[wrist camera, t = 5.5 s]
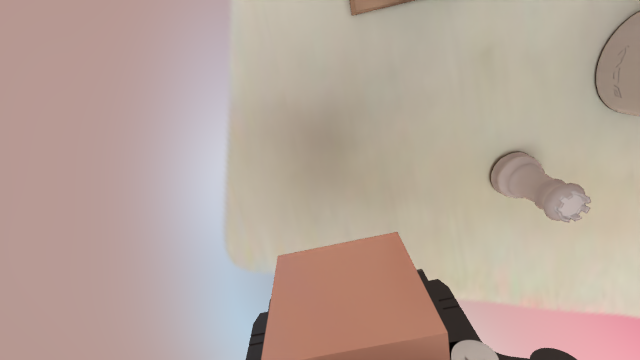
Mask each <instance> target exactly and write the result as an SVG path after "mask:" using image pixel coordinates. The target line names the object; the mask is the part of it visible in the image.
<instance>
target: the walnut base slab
mask: <svg viewBox="0 0 640 360" xmlns="http://www.w3.org/2000/svg"><path fill="white" fill-rule="evenodd" d="M410 1H415V0H350V6H351V12H352V15H356V14H360V13H364V12H369V11H373V10H377V9H381V8H385V7H390V6H394V5H398V4H402V3H406V2H410Z"/></svg>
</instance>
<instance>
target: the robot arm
mask: <svg viewBox="0 0 640 360" xmlns="http://www.w3.org/2000/svg"><path fill="white" fill-rule="evenodd" d="M596 85H597V89H598V93H599V95H600V97H601V99H602V101H603V102H604V103H605V104H606V105H607V106H608V107H609V108H611V109H613V110H615V111H616V112H620V113H625V114H630V115H636V116H640V11H639V12H638V13H636V14H635V15H633V16H632V17H630V18H629V19H628V20H627V21H626V22H624V23H623V24H622V25H621V26H620V27H619V28H618V29H617V31H616V32H615V33H614V34H613V35H612V37H611V38H610V39H609V41H608V43H607V44H606V46H605V48H604V50H603V52H602V55H601V57H600V60H599V63H598V67H597V72H596ZM417 272H418V274H419V276H420V278H421V280H422V282H423V284H424V286H425V288H426V290H427V292H428V294H429V296H430V298H431V300H432V302H433V304H434V306H435V308H436V310H437V312H438V314H439V316H440V318H441V320H442V322H443V324H444V326H445V328H446V330H447V332H448V342H449V353H450V360H577V359H575V358H574V357H573V356H571V355H569V354H568V353H565V352H563V351H560V350H557V349H552V348H541V349H538V350H536V351H534V352H533V353H532V355H531V356H530V359H527V358H518V357H510V356H505V355H502V354H499V353H496V352H494V351H493V350H492V349H491V348H490V347H489V346H487V345H486V344H484V343H483V342H482V341H481V340H480V339H479V337H478V335H477V334H476V332H475V330H474V329H473V327H472V326H471V324H470V322H469V320H468V319H467V317H466V315H465V314H464V312H463V310H462V309H461V307H460V306H459V304H458V302H457V300H456V299H455V298H454V296H453V294H452V292H451V291H450V289H449V287H448V286H446V285H445V284H444V283H442V282H441V281H440V280H438V279H436V280H431V281H428V279H427V277H426V276H425V274H424V272H423V270H422V269H419V270H417ZM270 302H271V299H270ZM269 308H270V303H269ZM268 314H269V309H268V312H264V313H260V314H259V316H258V318H257V319H256V321H255V322H254V324H253V328H252V334H251V338H250V342H249V347H248V352H247V357H246V360H261V358H262V351H263V345H264V339H265V333H266V327H267V320H268Z"/></svg>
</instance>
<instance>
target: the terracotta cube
mask: <svg viewBox="0 0 640 360" xmlns="http://www.w3.org/2000/svg"><path fill="white" fill-rule="evenodd" d="M261 360H450V353H449V342H448V332H447V330H446V328H445V326H444V324H443V322H442V320H441V318H440V316H439V314H438V312H437V310H436V308H435V306H434V304H433V302H432V300H431V298H430V296H429V294H428V292H427V290H426V288H425V286H424V284H423V282H422V280H421V278H420V276H419V274H418V272H417V270H416V268H415V266H414V264H413V262H412V260H411V258H410V256H409V254H408V252H407V250H406V248H405V246H404V244H403V242H402V240H401V238H400V236H399V234H398V232H394V233H389V234H384V235H379V236H374V237H369V238H365V239H360V240H355V241H350V242H345V243H340V244H335V245H330V246H325V247H320V248H315V249H310V250H305V251H300V252H295V253H290V254H285V255H280V256H278V259H277V265H276V271H275V277H274V284H273V290H272V296H271V302H270V308H269V314H268V320H267V327H266V333H265V339H264V345H263V351H262V358H261Z"/></svg>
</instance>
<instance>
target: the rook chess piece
mask: <svg viewBox="0 0 640 360" xmlns="http://www.w3.org/2000/svg"><path fill="white" fill-rule="evenodd" d="M491 183H492V185H493V187H494V189H496V190H497V191H498V192H500V193H502V194H504V195H505V196H508V197H513V198H526V199H529V200H531V201H533V202H535V205H536V206H537V207H538V208H540V209H544V211H545V214H546V216H547V217H549V218H550V219H552V220H557V221H560V220H562V221H564V222H569V221H570V219H572V220H574V221H577V220H579V219H581V217H580V216H579V215H578V214H579V213H580V212H581V211H583V212H584V213H588V211H589V209H590V208H589V207H587V206H586V205H585V204H586V203H590V202H591V200H590V197H588V196H586V195H585V192H584V189H583V188H582V187H581V186H579V185H578V184H573V183H569V184H566V183H565V182H563V181H562V180H559V179H552V178H551V177H549V176H548V175H547V174H545V172H544V170H543V168H542V166H541V164H540V163H539V162H538V161H537V160H536V159H535V158H534V157H531V156H530V155H528V154H526V153H522V152H516V153H511V154H508V155H507V156H505V157H503V158H501V159H500V160H499V161H498V162H497V163H496V165H495V166H494V168H493V171H492V173H491Z"/></svg>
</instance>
